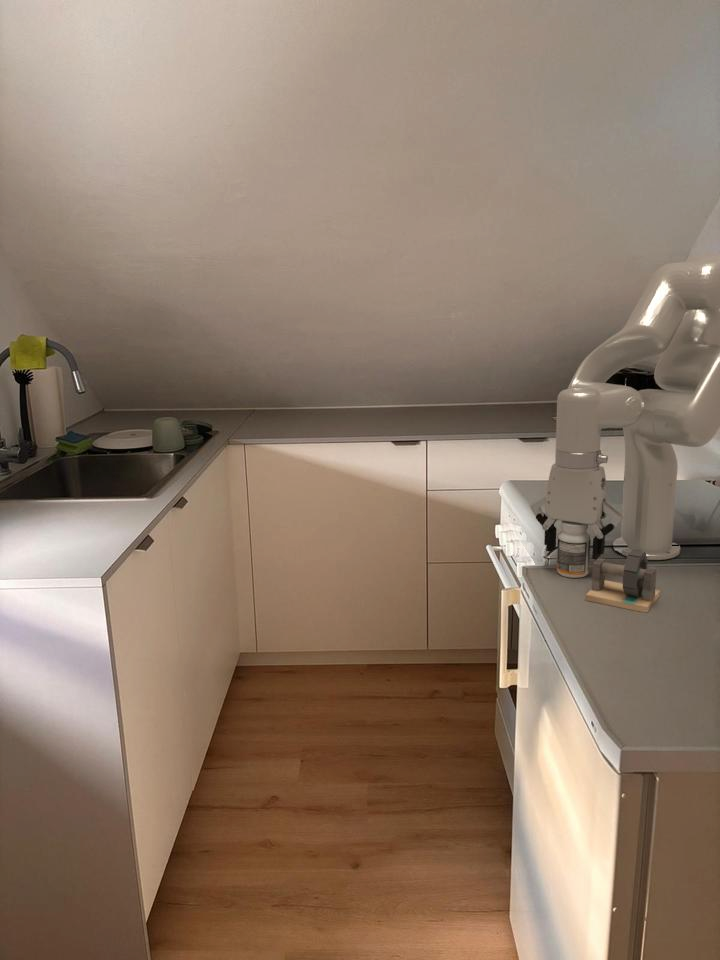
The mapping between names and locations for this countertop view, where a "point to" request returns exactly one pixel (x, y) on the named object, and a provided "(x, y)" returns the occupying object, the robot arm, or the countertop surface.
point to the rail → (614, 591)
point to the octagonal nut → (634, 573)
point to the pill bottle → (573, 550)
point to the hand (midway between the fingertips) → (573, 552)
